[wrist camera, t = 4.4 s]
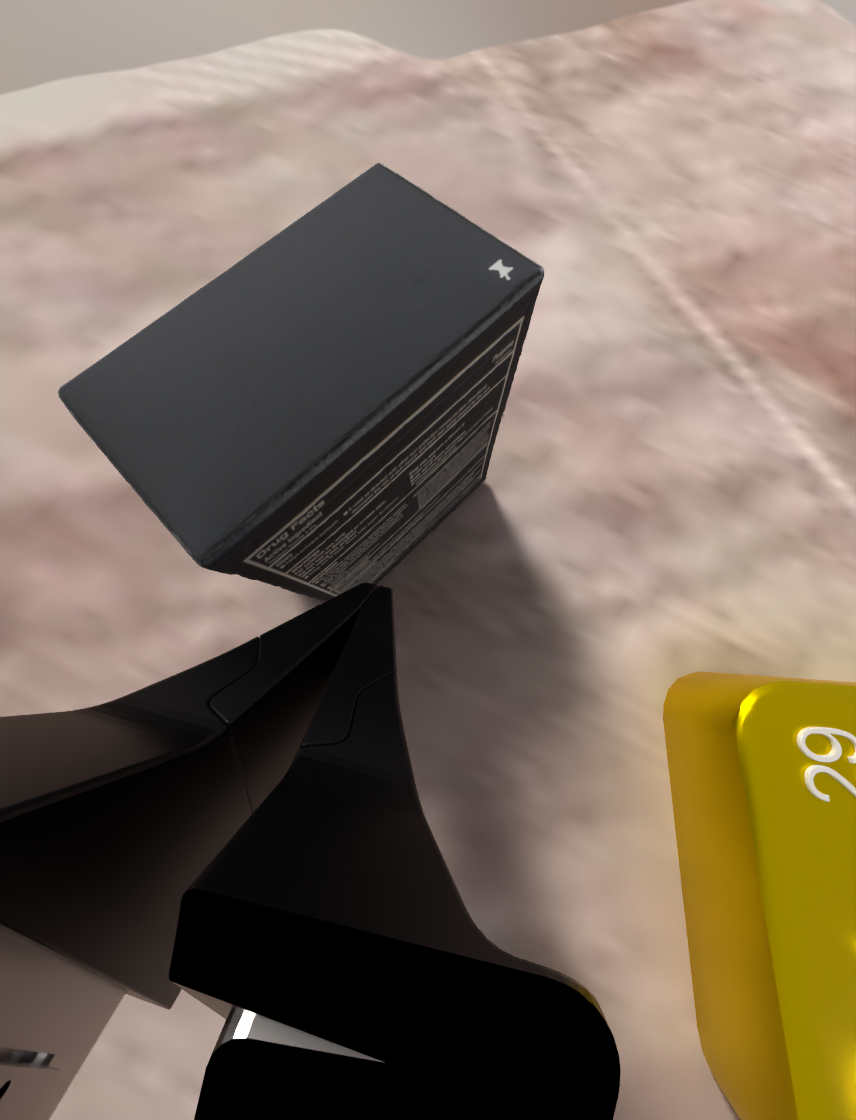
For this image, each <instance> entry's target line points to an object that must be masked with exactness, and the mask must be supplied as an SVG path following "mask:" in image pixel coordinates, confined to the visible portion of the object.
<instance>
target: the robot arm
mask: <svg viewBox="0 0 856 1120" xmlns="http://www.w3.org/2000/svg"><path fill="white" fill-rule="evenodd" d="M396 673H397V668H396V649H395V630H394V610H393V591H392V589H391V588H388V587H384V586H377V585H375V584H371V583H367V582H363V583H361V584H359V585H357V586H355V587H353V588H351V589H349V590H347V591H345V592H344V593H342V594H340V595H338V596H336V597H334V598H332V599H330V600H328V601H326V602H324V603H322V604H320V605H318V606H316V607H314V608H312V609H310V610H309V611H307V612H305V613H303V614H301V615H299V616H297V617H295V618H293V619H291V620H289V621H287V622H285V623H283V624H281V625H279V626H277V627H275V628H274V629H272V630H270V631H268V632H266V633H264V634H262V635H260V638H259V637H256V638H254V639H252V640H250V641H248V642H246V643H244V644H242V645H240V646H238V647H236V648H234V649H232V650H230V651H228V652H226V653H224V654H222V655H220V656H217V657H215V658H213V659H211V660H208V661H206V662H204V663H201V664H199V665H197V666H195V667H192V668H190V669H188V670H185V671H183V672H181V673H178V674H176V675H173V676H171V677H169V678H166V679H164V680H162V681H159V682H157V683H155V684H152V685H150V686H147V687H145V688H143V689H140V690H138V691H136V692H133V693H131V694H129V695H126V696H124V697H121V698H119V699H116V700H113V701H110V702H107V703H104V704H101V705H97V706H93V707H89V708H85V709H79V710H74V711H66V712H55V713H43V714H31V715H19V716H7V717H0V1120H50V1118H51V1116H52V1115H53V1113H54V1111H55V1110H56V1108H57V1106H58V1105H59V1103H60V1101H61V1100H62V1098H63V1096H64V1095H65V1093H66V1091H67V1090H68V1088H69V1086H70V1085H71V1083H72V1081H73V1080H74V1078H75V1076H76V1075H77V1073H78V1072H79V1070H80V1068H81V1067H82V1065H83V1063H84V1062H85V1060H86V1058H87V1057H88V1055H89V1053H90V1052H91V1050H92V1048H93V1047H94V1045H95V1043H96V1042H97V1040H98V1038H99V1037H100V1035H101V1033H102V1032H103V1030H104V1028H105V1027H106V1025H107V1023H108V1022H109V1020H110V1019H111V1017H112V1015H113V1014H114V1012H115V1010H116V1009H117V1007H118V1005H119V1004H120V1002H121V1000H122V999H123V997H124V995H125V994H128V995H131V996H133V997H136V998H139V999H141V1000H144V1001H147V1002H150V1003H152V1004H155V1005H158V1006H160V1007H163V1008H166V1009H171V1007H172V1005H173V1004H174V1002H175V1000H176V998H177V997H178V995H179V993H180V991H181V989H183V990H184V991H186V992H187V993H189V994H190V995H192V996H193V997H194V998H196V999H197V1000H199V1001H200V1002H202V1003H203V1004H205V1005H206V1006H208V1007H209V1008H210V1009H212V1010H213V1011H215V1012H216V1013H218V1014H219V1015H221V1016H222V1017H224V1018H225V1019H226V1022H225V1024H224V1027H223V1029H222V1031H221V1034H220V1036H219V1039H218V1041H217V1043H216V1046H215V1048H214V1050H213V1053H212V1055H211V1058H210V1060H209V1062H208V1065H207V1067H206V1071H205V1075H204V1079H203V1084H202V1088H201V1092H200V1097H199V1101H198V1105H197V1110H196V1114H195V1118H194V1120H613V1116H614V1112H615V1108H616V1103H617V1099H618V1094H619V1086H620V1061H619V1054H618V1051H617V1047H616V1044H615V1040H614V1037H613V1035H612V1032H611V1030H610V1028H609V1026H608V1023H607V1021H606V1019H605V1017H604V1015H603V1012H602V1010H601V1008H600V1006H599V1004H598V1002H597V1000H596V999H595V997H594V996H593V995H592V994H591V992H589V991H588V990H587V989H586V988H585V987H584V986H583V985H581V984H580V983H578V982H577V981H575V980H574V979H572V978H570V977H568V976H566V975H564V974H562V973H560V972H558V971H555V970H552V969H550V968H547V967H544V966H541V965H538V964H535V963H532V962H529V961H526V960H523V959H520V958H517V957H514V956H512V955H510V954H508V953H506V952H504V951H503V950H501V949H499V948H498V947H497V946H496V945H494V944H493V943H492V942H491V941H489V940H488V939H487V938H486V937H485V936H484V934H483V933H482V932H481V931H480V930H479V929H478V927H477V926H476V925H475V923H474V922H473V920H472V918H471V916H470V915H469V913H468V911H467V909H466V907H465V905H464V903H463V900H462V898H461V896H460V894H459V892H458V889H457V887H456V885H455V883H454V880H453V878H452V876H451V874H450V872H449V869H448V867H447V865H446V863H445V860H444V858H443V856H442V854H441V852H440V849H439V847H438V845H437V843H436V841H435V838H434V836H433V834H432V832H431V829H430V827H429V825H428V823H427V821H426V818H425V815H424V813H423V810H422V806H421V803H420V800H419V796H418V792H417V788H416V784H415V780H414V775H413V771H412V766H411V761H410V757H409V752H408V747H407V743H406V738H405V733H404V729H403V723H402V718H401V712H400V706H399V696H398V685H397V674H396Z"/></svg>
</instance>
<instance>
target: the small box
mask: <svg viewBox="0 0 856 1120" xmlns="http://www.w3.org/2000/svg"><path fill="white" fill-rule="evenodd" d="M543 277H544V269H543V267H542V266H541V265H539V264H537V263H536V262H534V261H533V260H531V259H529V258H528V257H526V256H524V255H522V254H521V253H520V252H519V251H517V250H516V249H514V248H512V247H510V246H509V245H507V244H506V243H504V242H502V241H501V240H499V239H498V238H497V237H495V236H494V235H492V234H490V233H489V232H487V231H486V230H484V229H483V228H482V227H480V226H478V225H477V224H475V223H473V222H472V221H470V220H469V219H467V218H465V217H464V216H462V215H461V214H460V213H458V212H457V211H455V210H454V209H452V208H451V207H449V206H448V205H446V204H444V203H442V202H441V201H439V200H437V199H436V198H434V197H433V196H432V195H430V194H429V193H427V192H426V191H424V190H423V189H421V188H420V187H418V186H416V185H415V184H413V183H412V182H410V181H408V180H407V179H405V178H403V177H402V176H401V175H399V174H398V173H396V172H394V171H392V170H391V169H389V168H388V167H386V166H385V165H384V164H380V163H377V164H376V165H374V166H373V167H371V168H370V169H369V170H367V171H366V172H364V173H363V174H361V175H360V176H359V177H357V178H356V179H354V180H353V181H352V182H350V183H349V184H347V185H346V186H344V187H343V188H342V189H340V190H339V191H338V192H336V193H335V194H333V195H332V196H331V197H329V198H328V199H327V200H325V201H324V202H322V203H321V204H319V205H318V206H317V207H315V208H314V209H312V210H311V211H310V212H308V213H307V214H305V215H304V216H303V217H301V218H300V219H298V220H297V221H295V222H294V223H293V224H291V225H290V226H288V227H287V228H286V229H284V230H283V231H281V232H280V233H279V234H277V235H276V236H274V237H273V238H271V239H270V240H269V241H267V242H266V243H264V244H263V245H262V246H260V247H259V248H257V249H256V250H255V251H253V252H252V253H250V254H249V255H248V256H246V257H245V258H243V259H242V260H241V261H239V262H238V263H237V264H235V265H234V266H232V267H231V268H230V269H228V270H227V271H226V272H224V273H223V274H221V275H220V276H218V277H217V278H215V279H214V280H212V281H211V282H209V283H208V284H207V285H205V286H204V287H202V288H201V289H199V290H198V291H197V292H195V293H194V294H192V295H191V296H189V297H188V298H187V299H185V300H184V301H183V302H181V303H180V304H178V305H177V306H176V307H174V308H173V309H171V310H170V311H169V312H167V313H166V314H164V315H163V316H161V317H160V318H158V319H157V320H156V321H154V322H153V323H151V324H150V325H149V326H147V327H146V328H144V329H143V330H141V331H140V332H139V333H137V334H136V335H134V336H133V337H132V338H130V339H129V340H127V341H126V342H125V343H123V344H122V345H120V346H119V347H118V348H116V349H115V350H113V351H112V352H110V353H109V354H108V355H106V356H105V357H103V358H102V359H101V360H99V361H98V362H96V363H95V364H93V365H92V366H91V367H89V368H88V369H86V370H85V371H83V372H82V373H81V374H79V375H78V376H76V377H75V378H73V379H72V380H70V381H69V382H67V383H66V384H64V385H63V386H61V387H60V389H59V391H58V394H59V397H60V399H61V400H62V402H63V403H64V405H65V406H66V407H67V409H68V410H69V412H70V413H71V414H72V416H73V417H74V418H75V420H76V421H77V422H78V423H79V425H80V426H81V427H82V428H83V429H84V430H85V432H86V433H87V434H88V435H89V437H90V438H91V439H92V440H93V441H94V442H95V443H96V445H97V446H98V447H99V449H100V450H101V451H102V452H103V453H104V454H105V455H106V457H107V458H108V459H109V461H110V462H111V463H112V464H113V466H114V467H115V468H116V469H117V470H118V471H119V473H120V474H121V475H122V476H123V477H124V479H125V480H126V481H127V482H128V483H129V484H130V485H131V486H132V488H133V489H134V490H135V491H136V492H137V494H138V495H139V496H140V497H141V498H142V500H143V501H144V502H145V504H146V505H147V506H148V507H149V508H150V509H151V511H152V512H153V513H154V514H155V515H156V516H157V517H158V519H159V520H160V521H161V522H162V523H163V525H164V526H165V527H166V528H167V529H168V530H169V532H170V533H171V534H172V535H173V536H174V537H175V538H176V540H177V541H178V542H179V543H180V544H181V546H182V547H183V548H184V549H185V551H186V552H187V553H188V554H189V555H190V556H191V557H192V558H193V560H194V561H195V562H196V563H197V564H198V565H200V566H201V567H203V568H206V569H209V570H213V571H217V572H221V573H226V574H238V575H240V576H242V577H246V578H248V579H252V580H259V581H262V582H265V583H268V584H271V585H273V586H280V587H281V588H283V589H287V590H289V591H291V592H295V593H298V594H302V595H305V596H308V597H311V598H315V599H318V600H321V601H325V602H326V601H328V600H330V599H332V598H334V597H336V596H338V595H340V594H342V593H344V592H345V591H347V590H349V589H351V588H353V587H355V586H357V585H359V584H361V583H363V582H367V583H371V584H375V585H376V584H377V583H378V582H379V581H380V580H381V579H382V578H383V577H384V576H385V575H386V574H387V573H388V572H389V571H390V570H391V569H392V568H394V567H395V566H396V565H398V563H399V562H400V561H401V560H402V559H403V558H404V557H405V556H406V555H407V554H408V553H409V552H410V551H411V550H412V549H413V548H414V547H415V546H416V545H418V544H419V543H420V542H421V541H422V540H423V539H424V538H425V537H426V536H427V535H428V534H429V533H430V532H431V531H432V530H434V529H435V528H436V527H437V526H438V525H439V524H440V523H441V522H442V521H443V520H444V519H445V518H446V517H447V516H448V515H449V514H450V513H451V512H452V511H453V510H455V508H456V507H457V506H458V505H459V504H460V503H462V501H463V500H464V499H465V498H467V497H468V496H469V495H470V494H471V492H472V491H474V490H475V489H476V488H477V487H478V486H479V485H480V484H481V483H482V482H483V481H484V480H485V479H486V475H487V470H488V467H489V462H490V458H491V454H492V450H493V446H494V443H495V439H496V435H497V432H498V429H499V424H500V422H501V417H502V414H503V412H504V410H505V406H506V402H507V399H508V396H509V393H510V389H511V385H512V382H513V379H514V374H515V372H516V369H517V364H518V361H519V357H520V355H521V352H522V347H523V343H524V340H525V338H526V334H527V331H528V328H529V324H530V320H531V316H532V313H533V309H534V305H535V302H536V299H537V296H538V292H539V289H540V286H541V283H542V280H543Z"/></svg>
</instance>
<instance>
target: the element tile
mask: <svg viewBox="0 0 856 1120" xmlns="http://www.w3.org/2000/svg"><path fill="white" fill-rule="evenodd" d="M663 722H664V731H665V740H666V749H667V758H668V767H669V776H670V785H671V794H672V803H673V812H674V821H675V830H676V839H677V848H678V857H679V866H680V875H681V884H682V893H683V902H684V911H685V920H686V929H687V938H688V947H689V956H690V965H691V974H692V983H693V992H694V1001H695V1010H696V1019H697V1028H698V1032H699V1037H700V1041H701V1046H702V1050H703V1053H704V1056H705V1058H706V1061H707V1063H708V1065H709V1068H710V1070H711V1072H712V1075H713V1077H714V1079H715V1081H716V1082H717V1084H718V1086H719V1087H720V1089H721V1090H722V1092H723V1093H724V1095H725V1096H726V1098H727V1100H728V1101H729V1103H730V1104H731V1106H732V1107H733V1109H734V1110H735V1112H736V1113H737V1115H738V1117H739V1118H740V1120H856V683H855V682H841V681H827V680H812V679H798V678H784V677H770V676H756V675H742V674H727V673H713V672H696V673H691V674H689V675H686V676H684V677H681V678H679V679H677V680H676V681H675V682H674V684H673V685H672V686H671V687H670V688H669V689H668V692H667V696H666V699H665V702H664V710H663Z"/></svg>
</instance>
